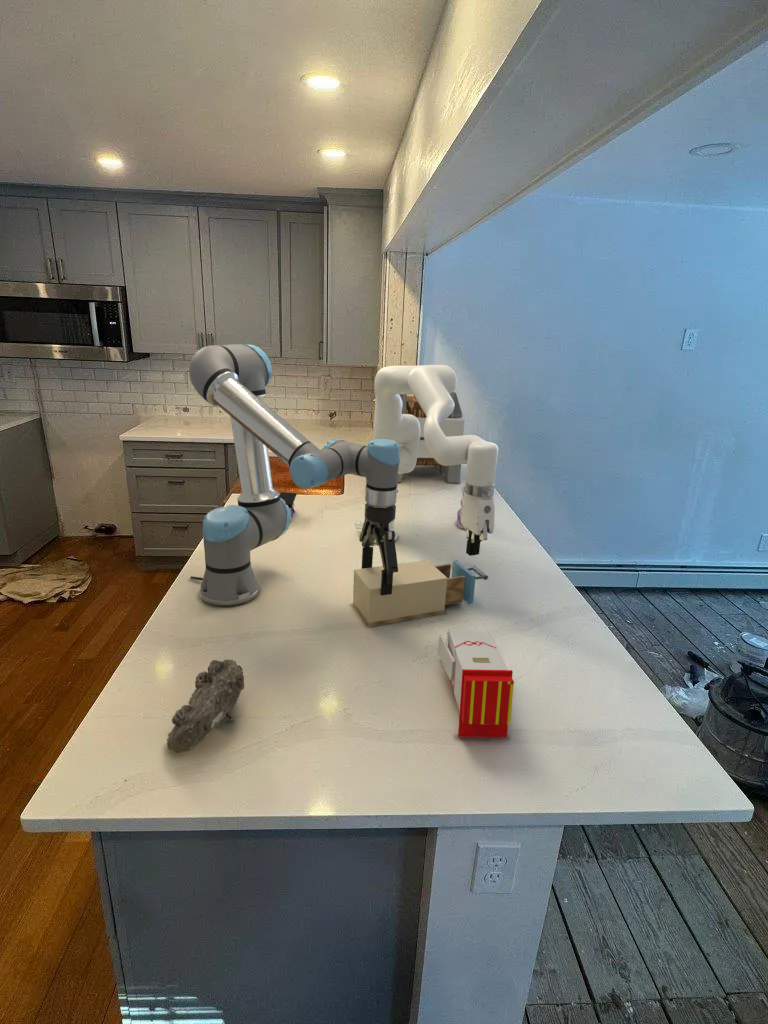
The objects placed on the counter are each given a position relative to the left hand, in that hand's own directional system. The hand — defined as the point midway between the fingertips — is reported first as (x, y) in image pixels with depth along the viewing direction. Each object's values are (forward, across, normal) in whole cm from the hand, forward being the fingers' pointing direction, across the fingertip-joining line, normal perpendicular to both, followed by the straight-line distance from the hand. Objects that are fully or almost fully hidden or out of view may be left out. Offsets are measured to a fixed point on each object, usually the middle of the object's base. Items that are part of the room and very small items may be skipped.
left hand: (376, 581), depth 145 cm
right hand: (-5, 0, -28) cm, 28 cm away
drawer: (+8, 0, -19) cm, 20 cm away
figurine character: (+10, +75, +6) cm, 76 cm away
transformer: (+10, +117, -69) cm, 137 cm away
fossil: (+9, -27, +44) cm, 52 cm away
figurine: (+9, +48, -56) cm, 75 cm away
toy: (+8, -37, -7) cm, 38 cm away
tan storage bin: (+9, 0, -7) cm, 11 cm away
